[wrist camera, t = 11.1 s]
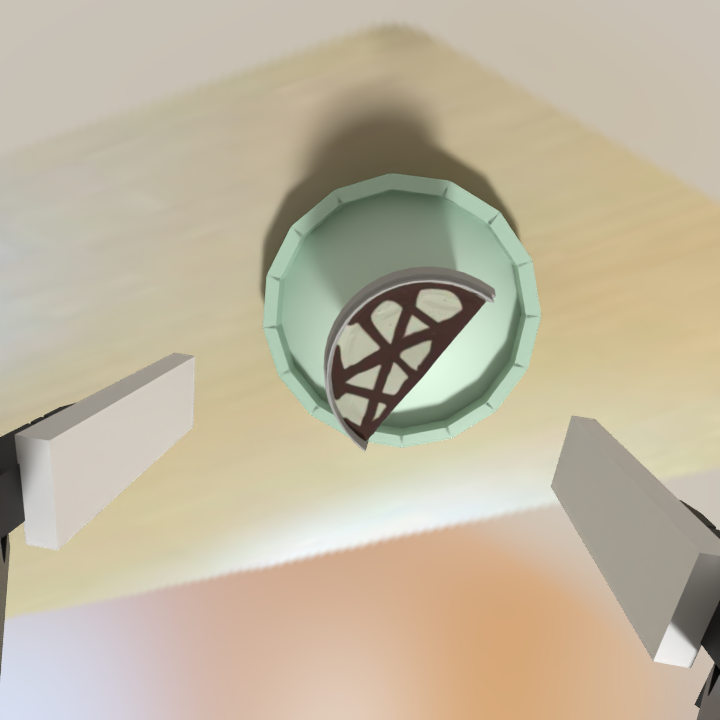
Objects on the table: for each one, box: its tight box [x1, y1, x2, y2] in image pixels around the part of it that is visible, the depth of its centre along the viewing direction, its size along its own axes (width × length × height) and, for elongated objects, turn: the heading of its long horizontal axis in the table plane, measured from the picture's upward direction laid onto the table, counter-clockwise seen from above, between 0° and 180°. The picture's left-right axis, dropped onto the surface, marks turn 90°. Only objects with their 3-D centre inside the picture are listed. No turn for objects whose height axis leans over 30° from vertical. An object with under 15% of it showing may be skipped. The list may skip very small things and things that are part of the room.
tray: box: [263, 173, 541, 448], centre depth 33 cm, size 20×20×2 cm
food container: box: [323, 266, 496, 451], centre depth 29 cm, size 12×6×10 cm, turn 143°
